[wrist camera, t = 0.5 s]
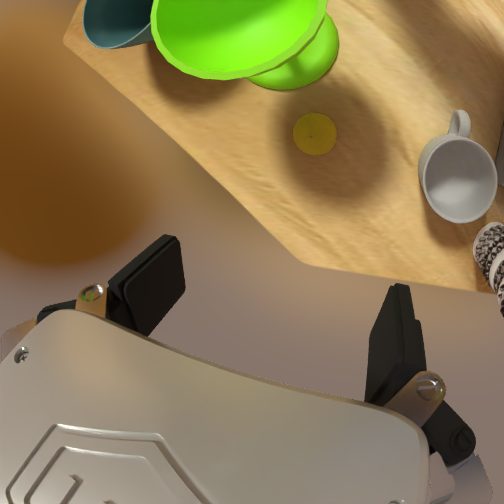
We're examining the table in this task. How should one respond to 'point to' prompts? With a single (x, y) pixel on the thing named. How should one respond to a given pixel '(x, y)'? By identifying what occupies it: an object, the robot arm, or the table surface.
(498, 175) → the box
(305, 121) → the lemon
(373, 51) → the table surface
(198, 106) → the table surface
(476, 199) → the teacup
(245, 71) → the wineglass
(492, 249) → the decorative candle
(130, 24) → the plant pot
